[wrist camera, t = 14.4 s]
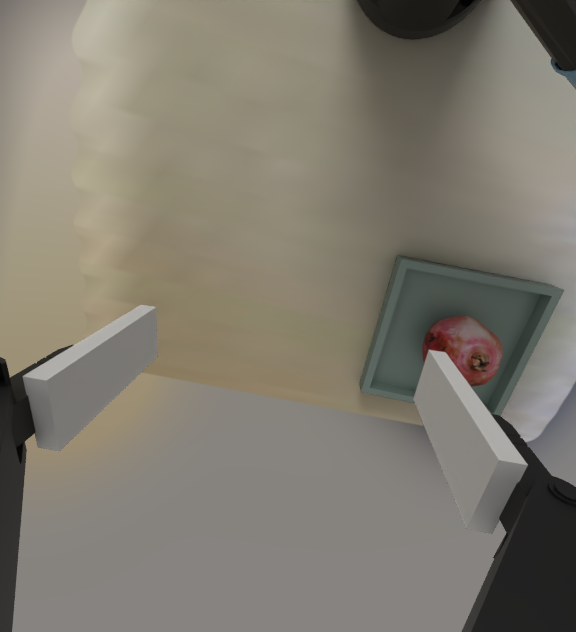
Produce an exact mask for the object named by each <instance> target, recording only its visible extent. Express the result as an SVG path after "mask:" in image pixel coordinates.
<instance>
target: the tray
mask: <svg viewBox="0 0 576 632" xmlns="http://www.w3.org/2000/svg"><path fill="white" fill-rule="evenodd" d="M563 291H564V290H563V289H560V288H558V287H555V286H553V285H549V284H544V283H539V282H534V281H528V280H523V279H518V278H513V277H508V276H502V275H497V274H492V273H487V272H481V271H476V270H471V269H466V268H461V267H455V266H450V265H445V264H440V263H434V262H429V261H424V260H419V259H414V258H408V257H403V256H398V255H397V259H396V262H395V265H394V269H393V272H392V275H391V279H390V282H389V285H388V289H387V292H386V296H385V299H384V302H383V306H382V309H381V312H380V316H379V319H378V322H377V326H376V329H375V332H374V336H373V339H372V343H371V346H370V349H369V353H368V356H367V359H366V363H365V366H364V369H363V373H362V376H361V379H360V389H361V392H363V393H368V394H372V395H377V396H382V397H387V398H392V399H396V400H401V401H406V402H411V403H415V402H414V400H413V398H414V395H415V392H416V389H417V386H418V382H419V379H420V376H421V373H422V370H423V367H424V361H423V356H422V346H423V341H424V338H425V335H426V333H427V332H428V330H429V329H430V328H431V326H432V325H434V324H435V323H436V322H438V321H439V320H442V319H445V318H449V317H453V316H469V317H472V318H474V319H476V320H477V321H478V322H480V323H481V324H482V325H484V326H485V327H486V328H487V329H488V330H489V331H491V332H492V333H493V334H494V335H496V336H497V337H498V338H499V340H500V342H501V345H502V349H503V357H502V360H501V363H500V366H499V368H498V370H497V372H496V374H495V376H494V377H493V378H492V379H491V380H490V381H488V382H487V383H486V384H484V385H480V386H472V387H471V388H472V389H473V391H474V392H475V393H476V395H477V396H478V397H479V399H480V400H481V401H482V403H483V404H484V406H485V407H486V408H487V410H488V411H489V412H490V414H495V415H499V416H500V415H501V413H502V411H503V409H504V408H505V406H506V404H507V402H508V400H509V398H510V396H511V394H512V392H513V390H514V388H515V386H516V384H517V382H518V380H519V378H520V376H521V374H522V372H523V370H524V368H525V366H526V364H527V362H528V360H529V358H530V356H531V354H532V352H533V350H534V348H535V346H536V344H537V343H538V341H539V339H540V337H541V335H542V333H543V331H544V329H545V327H546V325H547V323H548V321H549V319H550V317H551V315H552V313H553V311H554V309H555V307H556V305H557V303H558V301H559V299H560V297H561V295H562V293H563Z"/></svg>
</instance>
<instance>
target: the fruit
mask: <svg viewBox="0 0 576 632" xmlns="http://www.w3.org/2000/svg"><path fill="white" fill-rule="evenodd" d="M429 350H434V351H440V352H446V354H447V355H448V356H449V358H450V359H451V360H452V362H453V363H454V364H455V366H456V367H457V369H458V370H459V371H460V373H461V374H462V375H463V377H464V378H465V380H466V381H467V382H468V384H469V385H470V386H471V387H472V386H480V385H484V384H486V383H487V382H488V381H490V380H491V379H492V378H493V377H494V376H495V374H496V372H497V370H498V368H499V366H500V363H501V360H502V357H503V349H502V345H501V342H500V340H499V338H498V337H497V336H496V335H494V334H493V333H492V332H491V331H489V330H488V329H487V328H486V327H485V326H484V325H482V324H481V323H480V322H478V321H477V320H476V319H474V318H472V317H469V316H453V317H449V318H445V319H442V320H439V321H438V322H436V323H435V324H434V325H432V326H431V328H430V329H429V330H428V332H427V333H426V335H425V338H424V341H423V346H422V356H423V361H424V363H425V360H426V357H427V354H428V351H429Z"/></svg>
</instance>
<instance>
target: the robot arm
mask: <svg viewBox="0 0 576 632" xmlns="http://www.w3.org/2000/svg"><path fill="white" fill-rule="evenodd" d="M480 1H481V0H358V2H359V4H360V6H361V8H362V9H363V11H364V13H365V14H366V15H367V17H368V18H369V19H370V20H371V21H372V22H373V23H374V24H375V25H376V26H377V27H379V28H380V29H382V30H383V31H385V32H387V33H388V34H391V35H393V36H396V37H400V38H405V39H421V38H427V37H431V36H434V35H437V34H439V33H442V32H444V31H446V30H448V29H450V28H451V27H453V26H454V25H456V24H457V23H459V22H460V21H461V20H462V19H464V18H465V17H466V16H467V15H468V14H469V13H470V12H471V11H472V10H473V9H474V8H475V7H476V6H477V5H478V3H479V2H480ZM510 1H511V2H512V3H513V5H514V6H515V8H516V9H517V10H518V12H519V13H520V15H521V16H522V17H523V19H524V20H525V22H526V23H527V24H528V26H529V27H530V29H531V30H532V31H533V33H534V34H535V36H536V37H537V38H538V40H539V41H540V43H541V44H542V45H543V47H544V48H545V50H546V51H547V52H548V54H549V55H550V57H551V58H552V59H551V65H552V67H553V69H554V70H555V71H556V72H557V73H559V74H561V75H563V76H565V77H566V78H567V79H568V81H569V82H570V83H571V84H572V85H573V87H574V88H575V89H576V0H510ZM157 357H158V347H157V318H156V307H153V306H146V305H140V306H138V307H136V308H135V309H133V310H131V311H130V312H128V313H127V314H125V315H123V316H122V317H120V318H118V319H117V320H115V321H113V322H112V323H110V324H108V325H107V326H105V327H103V328H102V329H100V330H98V331H97V332H95V333H93V334H92V335H90V336H88V337H87V338H85V339H83V340H82V341H80V342H79V343H77V344H75V345H71V346H68V347H65V348H62V349H59V350H57V351H55V352H53V353H52V354H50V355H48V356H47V357H46V358H43V359H41V360H40V361H38V362H37V363H34V364H33V365H31V366H29V367H28V368H26V369H24V370H22V371H21V372H19V373H17V374H16V375H14V376H12V377H11V378H10V377H9V372H8V368H7V364H6V361H5V359H3V358H1V357H0V632H12V624H13V612H14V600H15V587H16V574H17V562H18V550H19V538H20V525H21V512H22V500H23V487H24V475H25V463H26V451H27V450H26V445H25V441H26V440H27V439H28V438H29V437H31V436H32V435H33V434H34V433H35V437H36V441H37V446H38V447H39V448H44V449H49V450H54V451H61V450H62V449H63V448H64V447H65V446H66V445H67V444H68V443H69V442H70V441H71V440H72V439H73V438H74V437H75V436H76V435H77V434H78V433H79V432H80V431H81V430H82V429H83V428H84V427H85V426H86V425H87V424H88V423H90V421H92V420H93V418H94V417H96V416H97V415H98V414H99V413H100V412H101V411H102V410H103V409H104V408H105V407H106V406H107V405H108V404H109V403H110V402H111V401H112V400H113V399H114V398H115V397H116V396H117V395H118V394H120V392H121V391H123V390H124V389H125V388H126V387H127V386H128V385H129V384H130V383H131V382H132V381H133V380H134V379H135V378H136V377H137V376H138V375H139V374H140V373H141V372H142V371H143V370H144V369H145V368H146V367H147V366H149V365H150V364H151V363H152V362H153V361H154V360H155V359H156V358H157ZM413 400H414V402H415V405H416V407H417V409H418V412H419V414H420V417H421V419H422V422H423V424H424V427H425V429H426V431H427V434H428V436H429V439H430V441H431V444H432V446H433V448H434V451H435V453H436V456H437V458H438V460H439V463H440V466H441V468H442V470H443V473H444V475H445V478H446V480H447V483H448V485H449V487H450V490H451V492H452V495H453V497H454V500H455V502H456V505H457V507H458V509H459V512H460V514H461V517H462V519H463V522H464V524H465V527H466V529H470V530H475V531H480V532H485V533H491V534H492V533H493V531H494V529H495V528H496V525H497V524H498V522H499V520H500V521H501V523H502V525H503V527H504V529H505V530H506V532H507V533H506V535H505V537H504V539H503V541H502V542H501V544H500V546H499V548H498V550H497V552H496V553H495V555H494V557H493V558H494V561H493V563H492V565H491V567H490V570H489V572H488V574H487V576H486V578H485V581H484V583H483V585H482V588H481V590H480V592H479V594H478V596H477V599H476V601H475V603H474V605H473V608H472V610H471V612H470V614H469V616H468V619H467V621H466V623H465V626H464V628H463V630H462V632H576V487H574V486H573V485H571V484H570V483H568V482H566V481H564V480H562V479H559V478H557V477H553V476H551V474H550V473H549V472H548V471H547V469H546V468H545V467H544V465H543V464H542V463H541V462H540V460H539V459H538V458H537V457H536V455H535V454H534V453H533V451H532V450H531V449H530V448H529V447H527V444H526V443H525V441H524V440H523V439H522V438H520V435H519V434H518V432H517V431H516V430H515V429H514V427H513V426H512V425H511V424H510V423H508V422H507V421H506V420H505V419H503V418H502V417H501V416H499V415H495V414H490V412H489V411H488V410H487V408H486V407H485V406H484V404H483V403H482V401H481V400H480V399H479V397H478V396H477V395H476V393H475V392H474V391H473V389H472V388H471V386H470V385H469V384H468V382H467V381H466V380H465V378H464V377H463V375H462V374H461V373H460V371H459V370H458V369H457V367H456V366H455V364H454V363H453V362H452V360H451V359H450V358H449V356H448V355H447V354H446V352H440V351H434V350H429V351H428V354H427V357H426V360H425V363H424V367H423V370H422V373H421V376H420V379H419V382H418V386H417V389H416V392H415V395H414V398H413Z"/></svg>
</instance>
